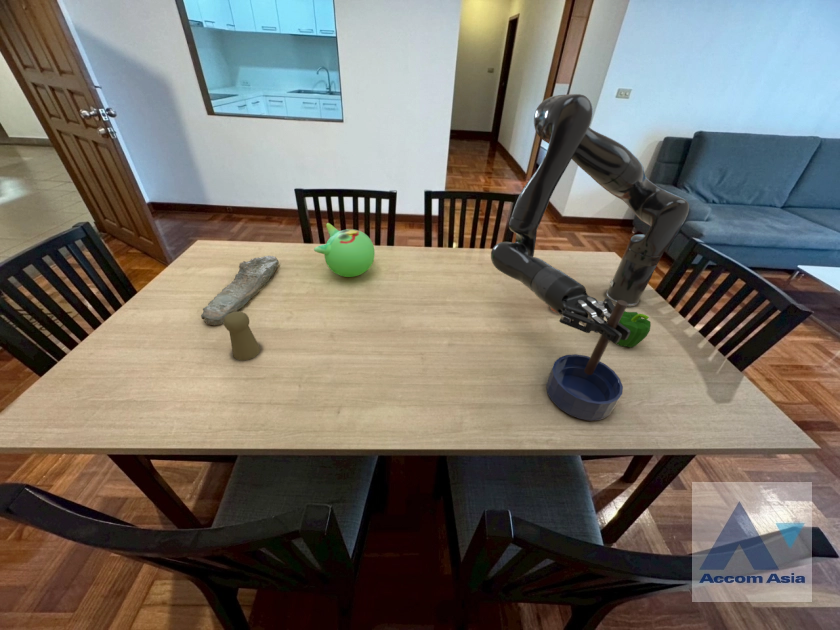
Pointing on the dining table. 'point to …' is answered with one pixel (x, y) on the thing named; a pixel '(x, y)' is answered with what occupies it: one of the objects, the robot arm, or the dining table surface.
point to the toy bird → (347, 251)
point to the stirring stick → (604, 341)
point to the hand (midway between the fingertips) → (623, 337)
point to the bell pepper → (634, 328)
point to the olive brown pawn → (241, 336)
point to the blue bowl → (583, 388)
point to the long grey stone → (240, 289)
